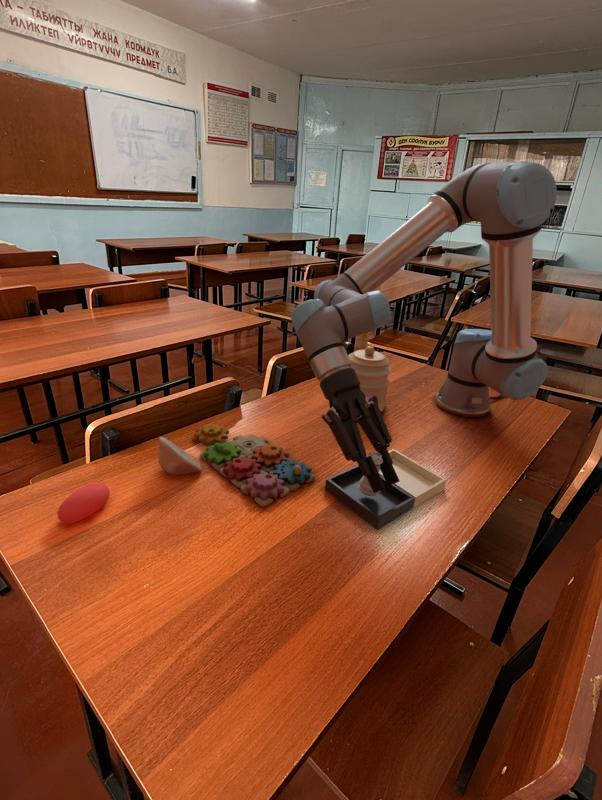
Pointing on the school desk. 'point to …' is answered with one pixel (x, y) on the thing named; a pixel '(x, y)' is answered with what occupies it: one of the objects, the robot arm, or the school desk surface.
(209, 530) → the school desk surface
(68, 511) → the stress ball
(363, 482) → the rook chess piece
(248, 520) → the school desk surface
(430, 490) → the light tray
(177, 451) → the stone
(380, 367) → the jar
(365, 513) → the dark tray
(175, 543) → the school desk surface
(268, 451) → the gear puzzle
